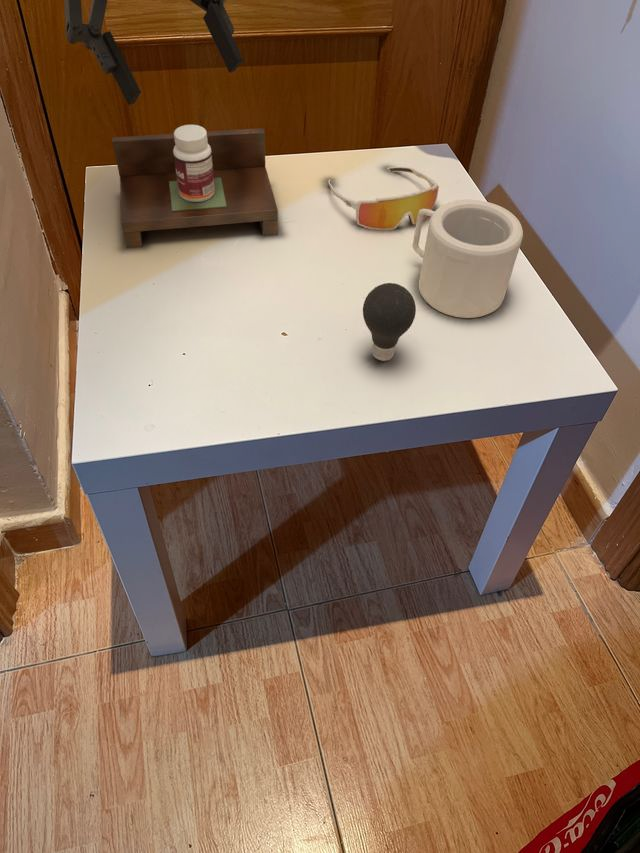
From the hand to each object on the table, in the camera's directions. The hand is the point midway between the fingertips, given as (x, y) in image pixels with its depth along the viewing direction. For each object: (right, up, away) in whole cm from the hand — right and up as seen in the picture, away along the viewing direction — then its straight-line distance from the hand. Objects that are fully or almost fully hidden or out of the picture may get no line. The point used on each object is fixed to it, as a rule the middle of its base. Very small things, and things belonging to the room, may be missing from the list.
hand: (187, 82), depth 77 cm
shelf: (-2, -10, +18) cm, 20 cm away
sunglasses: (+24, -6, +22) cm, 33 cm away
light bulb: (+22, -31, +1) cm, 38 cm away
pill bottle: (-1, -8, +14) cm, 16 cm away
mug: (+32, -21, +10) cm, 39 cm away
